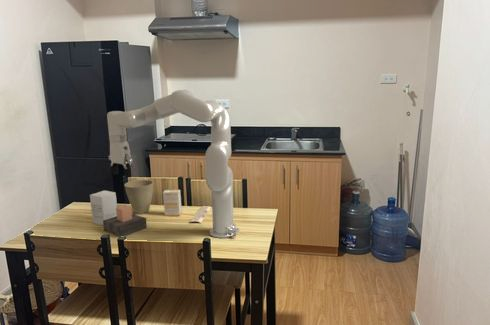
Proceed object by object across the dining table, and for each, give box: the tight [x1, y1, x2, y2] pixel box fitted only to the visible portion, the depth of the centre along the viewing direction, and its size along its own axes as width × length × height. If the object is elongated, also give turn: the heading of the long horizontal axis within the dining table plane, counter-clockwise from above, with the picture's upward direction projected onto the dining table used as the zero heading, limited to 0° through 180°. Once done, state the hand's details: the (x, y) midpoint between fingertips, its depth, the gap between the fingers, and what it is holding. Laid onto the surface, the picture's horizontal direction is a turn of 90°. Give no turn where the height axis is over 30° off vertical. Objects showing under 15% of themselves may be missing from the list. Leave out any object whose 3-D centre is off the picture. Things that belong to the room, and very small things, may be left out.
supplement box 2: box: [162, 189, 183, 217], centre depth 195 cm, size 8×5×13 cm, turn 84°
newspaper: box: [188, 205, 212, 224], centre depth 195 cm, size 24×7×2 cm, turn 172°
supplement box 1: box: [89, 190, 118, 227], centre depth 187 cm, size 9×9×15 cm
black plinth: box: [103, 213, 147, 237], centre depth 177 cm, size 14×14×5 cm
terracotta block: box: [116, 204, 133, 222], centre depth 176 cm, size 5×5×6 cm
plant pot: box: [124, 179, 154, 215], centre depth 200 cm, size 15×15×16 cm
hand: (121, 175), depth 172 cm, fingers open, 9 cm apart
